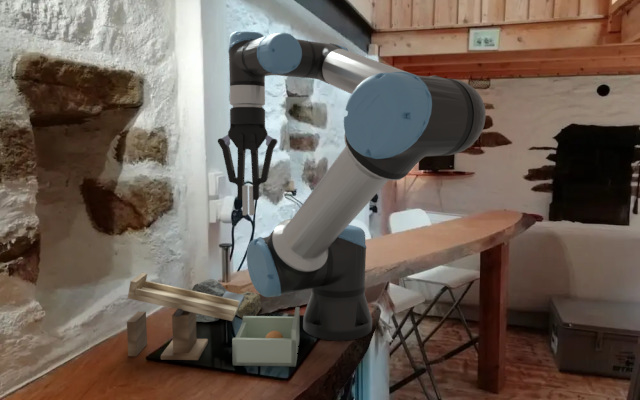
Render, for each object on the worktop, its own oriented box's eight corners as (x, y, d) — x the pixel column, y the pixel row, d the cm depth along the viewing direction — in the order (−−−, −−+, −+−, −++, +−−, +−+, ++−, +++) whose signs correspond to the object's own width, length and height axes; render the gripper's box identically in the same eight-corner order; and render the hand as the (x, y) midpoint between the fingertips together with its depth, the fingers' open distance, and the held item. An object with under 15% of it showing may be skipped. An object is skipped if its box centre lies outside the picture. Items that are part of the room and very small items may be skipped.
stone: (193, 281, 110) (223, 269, 119) (169, 303, 115) (199, 291, 123) (216, 318, 108) (244, 303, 117) (190, 339, 113) (220, 324, 121)
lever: (242, 303, 107) (246, 283, 107) (230, 328, 93) (234, 305, 93) (150, 283, 107) (154, 263, 106) (124, 305, 93) (128, 282, 93)
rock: (268, 314, 119) (268, 296, 119) (237, 320, 115) (237, 301, 115) (257, 305, 125) (257, 288, 125) (227, 310, 121) (226, 292, 121)
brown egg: (262, 336, 100) (275, 348, 100) (260, 343, 96) (273, 356, 96) (275, 324, 99) (288, 336, 100) (273, 331, 96) (286, 344, 96)
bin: (299, 339, 104) (299, 307, 103) (295, 366, 92) (295, 329, 91) (243, 339, 104) (243, 306, 103) (232, 365, 92) (232, 328, 91)
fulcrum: (208, 342, 102) (207, 303, 101) (197, 360, 94) (196, 318, 93) (141, 341, 102) (139, 302, 101) (125, 359, 95) (124, 317, 93)
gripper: (281, 108, 113) (281, 212, 116) (219, 107, 113) (221, 211, 116) (277, 106, 105) (278, 217, 108) (211, 105, 105) (213, 216, 108)
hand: (248, 214), depth 112 cm, fingers closed
